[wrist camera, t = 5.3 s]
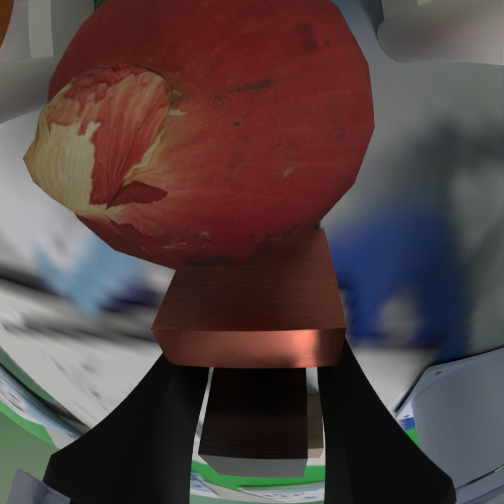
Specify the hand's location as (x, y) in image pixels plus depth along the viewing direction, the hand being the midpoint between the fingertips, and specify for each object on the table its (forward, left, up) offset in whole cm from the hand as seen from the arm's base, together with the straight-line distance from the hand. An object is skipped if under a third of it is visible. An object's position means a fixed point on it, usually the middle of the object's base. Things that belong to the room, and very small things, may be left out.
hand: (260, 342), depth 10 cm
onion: (0, -8, -3) cm, 8 cm away
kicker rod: (0, +6, -3) cm, 7 cm away
